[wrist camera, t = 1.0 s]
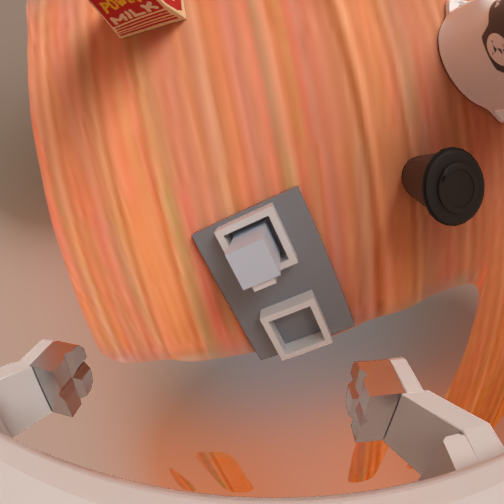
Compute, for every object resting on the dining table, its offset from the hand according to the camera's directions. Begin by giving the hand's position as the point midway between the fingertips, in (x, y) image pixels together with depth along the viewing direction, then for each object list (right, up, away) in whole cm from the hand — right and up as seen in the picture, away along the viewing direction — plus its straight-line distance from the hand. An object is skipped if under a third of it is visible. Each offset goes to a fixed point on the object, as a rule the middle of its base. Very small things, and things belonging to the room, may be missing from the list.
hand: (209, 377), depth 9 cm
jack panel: (+5, 0, +32) cm, 32 cm away
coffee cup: (+22, +13, +27) cm, 37 cm away
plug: (+2, +5, +30) cm, 30 cm away
